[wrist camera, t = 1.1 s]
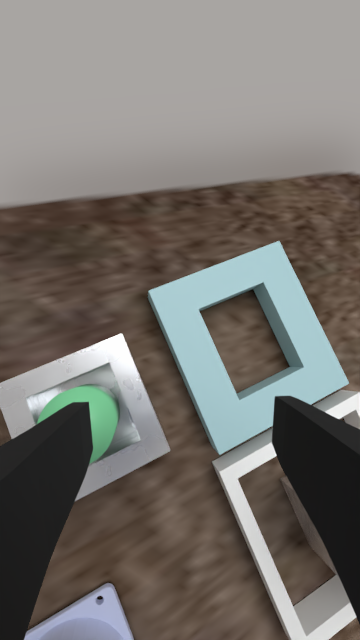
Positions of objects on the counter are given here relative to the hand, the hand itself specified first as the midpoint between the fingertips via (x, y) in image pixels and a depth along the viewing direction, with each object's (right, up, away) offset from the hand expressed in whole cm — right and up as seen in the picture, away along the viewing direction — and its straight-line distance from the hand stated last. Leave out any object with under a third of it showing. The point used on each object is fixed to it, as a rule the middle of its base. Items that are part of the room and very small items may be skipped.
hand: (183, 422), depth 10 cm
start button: (-6, -2, +7) cm, 10 cm away
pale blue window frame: (+5, +2, +12) cm, 14 cm away
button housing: (-7, -3, +10) cm, 12 cm away
